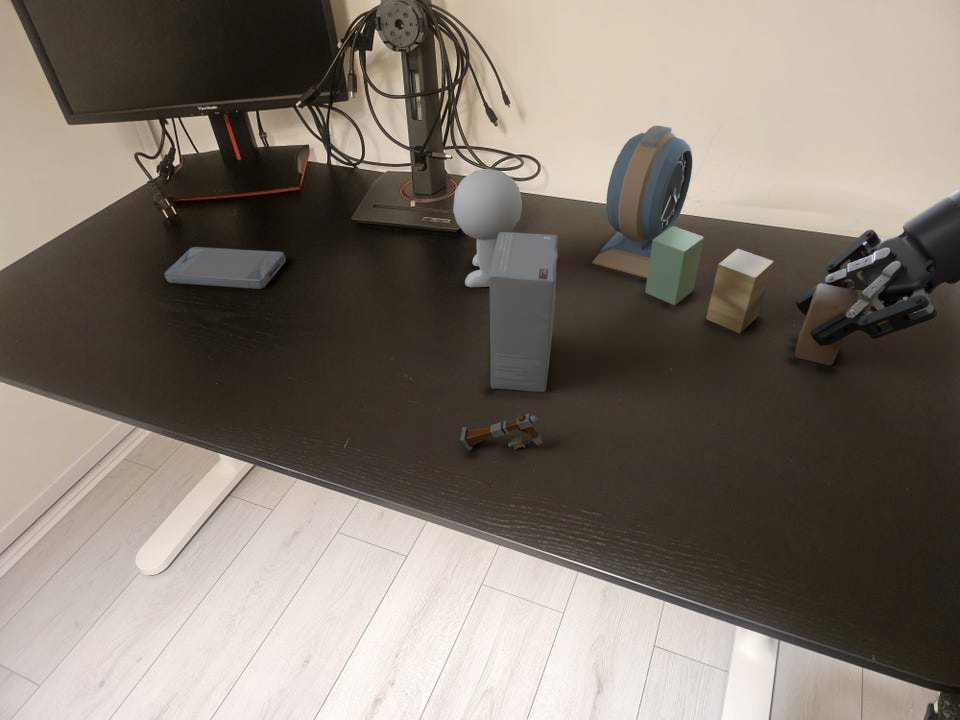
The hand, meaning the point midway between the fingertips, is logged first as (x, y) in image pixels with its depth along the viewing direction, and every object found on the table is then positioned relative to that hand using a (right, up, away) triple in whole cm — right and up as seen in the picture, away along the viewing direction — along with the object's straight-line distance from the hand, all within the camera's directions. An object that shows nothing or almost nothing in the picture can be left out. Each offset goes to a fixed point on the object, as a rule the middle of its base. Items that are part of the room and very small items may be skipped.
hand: (808, 323), depth 68 cm
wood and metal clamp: (-34, -13, -5) cm, 37 cm away
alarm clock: (-13, +12, +21) cm, 27 cm away
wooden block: (+2, -3, +3) cm, 5 cm away
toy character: (-35, +8, +19) cm, 40 cm away
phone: (-74, +9, +24) cm, 79 cm away
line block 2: (-5, +1, +8) cm, 10 cm away
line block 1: (-11, +5, +13) cm, 18 cm away
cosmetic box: (-31, -5, +4) cm, 32 cm away
